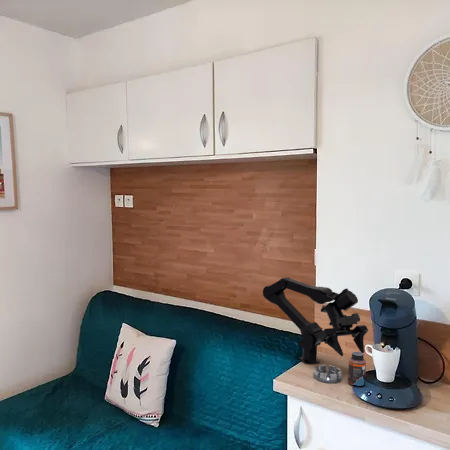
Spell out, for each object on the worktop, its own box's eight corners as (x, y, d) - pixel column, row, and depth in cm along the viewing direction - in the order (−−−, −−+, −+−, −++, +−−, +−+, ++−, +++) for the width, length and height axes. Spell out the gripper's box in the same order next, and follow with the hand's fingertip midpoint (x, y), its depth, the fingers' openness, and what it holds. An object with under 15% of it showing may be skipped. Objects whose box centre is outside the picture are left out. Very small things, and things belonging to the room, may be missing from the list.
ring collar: (309, 372, 173) (309, 365, 173) (334, 371, 175) (334, 363, 175) (320, 384, 163) (320, 376, 162) (347, 382, 165) (347, 374, 165)
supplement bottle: (368, 387, 161) (369, 356, 160) (352, 387, 160) (353, 356, 160) (360, 380, 167) (361, 350, 166) (345, 380, 166) (346, 350, 165)
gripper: (324, 307, 166) (341, 346, 157) (366, 304, 173) (384, 341, 164) (312, 322, 174) (327, 360, 165) (352, 319, 181) (369, 355, 171)
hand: (352, 354), depth 166 cm, fingers open, 9 cm apart
